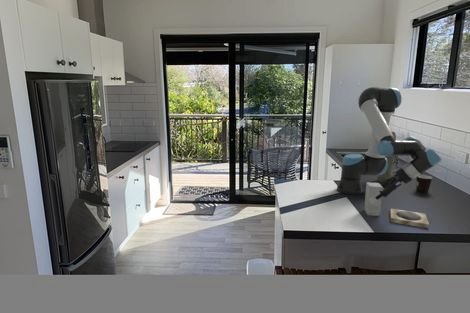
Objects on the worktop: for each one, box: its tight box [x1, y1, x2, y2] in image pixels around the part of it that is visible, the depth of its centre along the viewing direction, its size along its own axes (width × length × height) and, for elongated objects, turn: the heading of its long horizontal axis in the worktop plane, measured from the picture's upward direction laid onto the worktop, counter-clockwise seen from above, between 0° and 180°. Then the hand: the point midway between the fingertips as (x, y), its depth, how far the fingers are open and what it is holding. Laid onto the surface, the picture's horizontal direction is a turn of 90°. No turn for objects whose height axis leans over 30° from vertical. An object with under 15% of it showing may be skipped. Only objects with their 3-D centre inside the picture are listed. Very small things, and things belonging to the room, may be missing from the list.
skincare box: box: [363, 182, 384, 217], centre depth 163 cm, size 8×7×16 cm
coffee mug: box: [415, 174, 433, 195], centre depth 200 cm, size 12×9×10 cm
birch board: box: [389, 208, 430, 229], centre depth 157 cm, size 16×14×2 cm
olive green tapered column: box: [377, 131, 397, 183], centre depth 218 cm, size 9×12×35 cm
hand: (371, 197), depth 163 cm, fingers open, 13 cm apart
